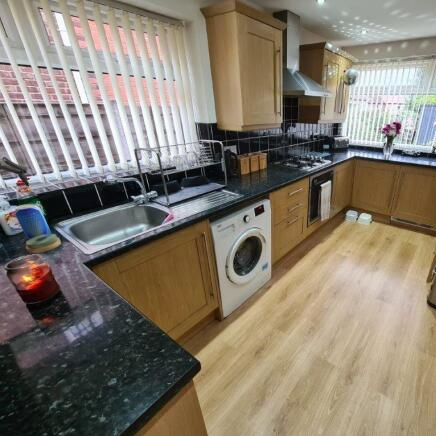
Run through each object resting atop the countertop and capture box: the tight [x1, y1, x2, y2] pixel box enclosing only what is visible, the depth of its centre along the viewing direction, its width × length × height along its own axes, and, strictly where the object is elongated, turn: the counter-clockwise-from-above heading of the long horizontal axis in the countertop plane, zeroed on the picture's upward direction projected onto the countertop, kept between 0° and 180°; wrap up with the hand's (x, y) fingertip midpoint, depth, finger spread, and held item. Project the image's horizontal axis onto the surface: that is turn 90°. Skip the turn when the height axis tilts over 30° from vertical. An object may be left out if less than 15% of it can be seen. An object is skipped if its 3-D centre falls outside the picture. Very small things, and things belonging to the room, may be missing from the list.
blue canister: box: [14, 203, 52, 240], centre depth 114 cm, size 8×8×16 cm
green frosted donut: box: [25, 233, 62, 254], centre depth 108 cm, size 11×11×4 cm
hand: (8, 188), depth 112 cm, fingers open, 13 cm apart
